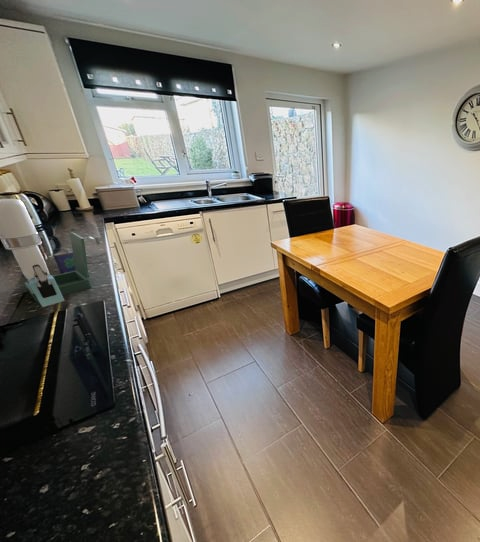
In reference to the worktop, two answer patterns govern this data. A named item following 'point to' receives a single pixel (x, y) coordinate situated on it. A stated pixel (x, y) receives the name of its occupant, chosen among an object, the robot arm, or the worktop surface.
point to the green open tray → (66, 283)
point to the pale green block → (48, 300)
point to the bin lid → (80, 253)
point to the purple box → (65, 261)
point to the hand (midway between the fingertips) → (47, 293)
